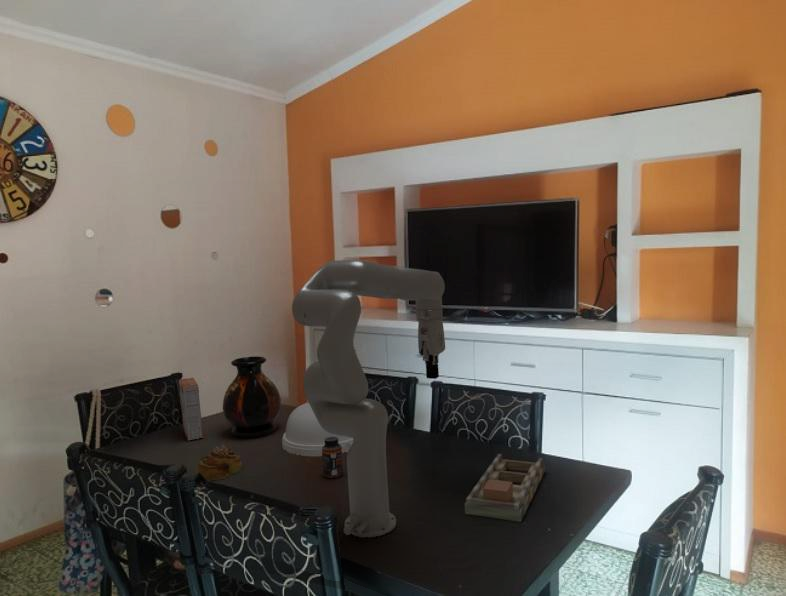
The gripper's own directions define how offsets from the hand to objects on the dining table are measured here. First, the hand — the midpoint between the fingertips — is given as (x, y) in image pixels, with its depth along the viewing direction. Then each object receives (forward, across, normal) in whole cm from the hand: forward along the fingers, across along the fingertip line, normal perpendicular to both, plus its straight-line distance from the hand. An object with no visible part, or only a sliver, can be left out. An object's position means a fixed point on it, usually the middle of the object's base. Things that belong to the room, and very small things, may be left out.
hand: (432, 377), depth 170 cm
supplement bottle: (+29, -9, +30) cm, 43 cm away
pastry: (+30, -17, +67) cm, 75 cm away
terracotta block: (+27, -16, -22) cm, 39 cm away
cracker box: (+29, +9, +102) cm, 107 cm away
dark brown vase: (+29, +19, +81) cm, 88 cm away
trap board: (+29, -5, -22) cm, 37 cm away
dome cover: (+30, +17, +49) cm, 60 cm away
